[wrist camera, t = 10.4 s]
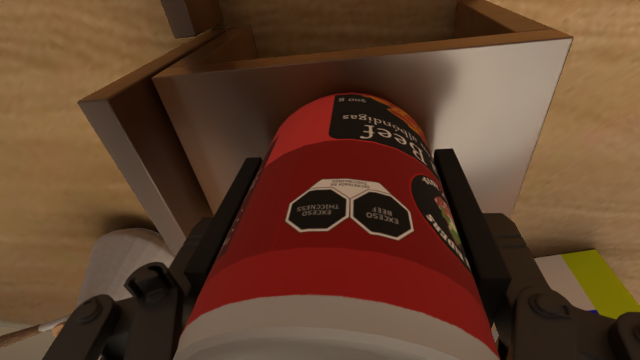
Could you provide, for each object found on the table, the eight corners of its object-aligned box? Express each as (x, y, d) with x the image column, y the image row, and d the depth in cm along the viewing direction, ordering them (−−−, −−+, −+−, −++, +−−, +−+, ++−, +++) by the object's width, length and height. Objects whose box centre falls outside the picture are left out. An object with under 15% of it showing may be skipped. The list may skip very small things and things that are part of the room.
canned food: (452, 172, 16) (564, 449, 7) (330, 228, 19) (304, 458, 11) (373, 47, 12) (398, 275, 4) (243, 143, 16) (103, 373, 7)
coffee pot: (167, 214, 37) (78, 337, 26) (205, 271, 44) (147, 389, 32) (31, 223, 42) (-100, 332, 30) (84, 273, 48) (-6, 379, 36)
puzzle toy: (495, 263, 36) (532, 350, 28) (595, 249, 33) (668, 343, 25) (501, 307, 42) (533, 391, 34) (588, 299, 38) (646, 389, 31)
